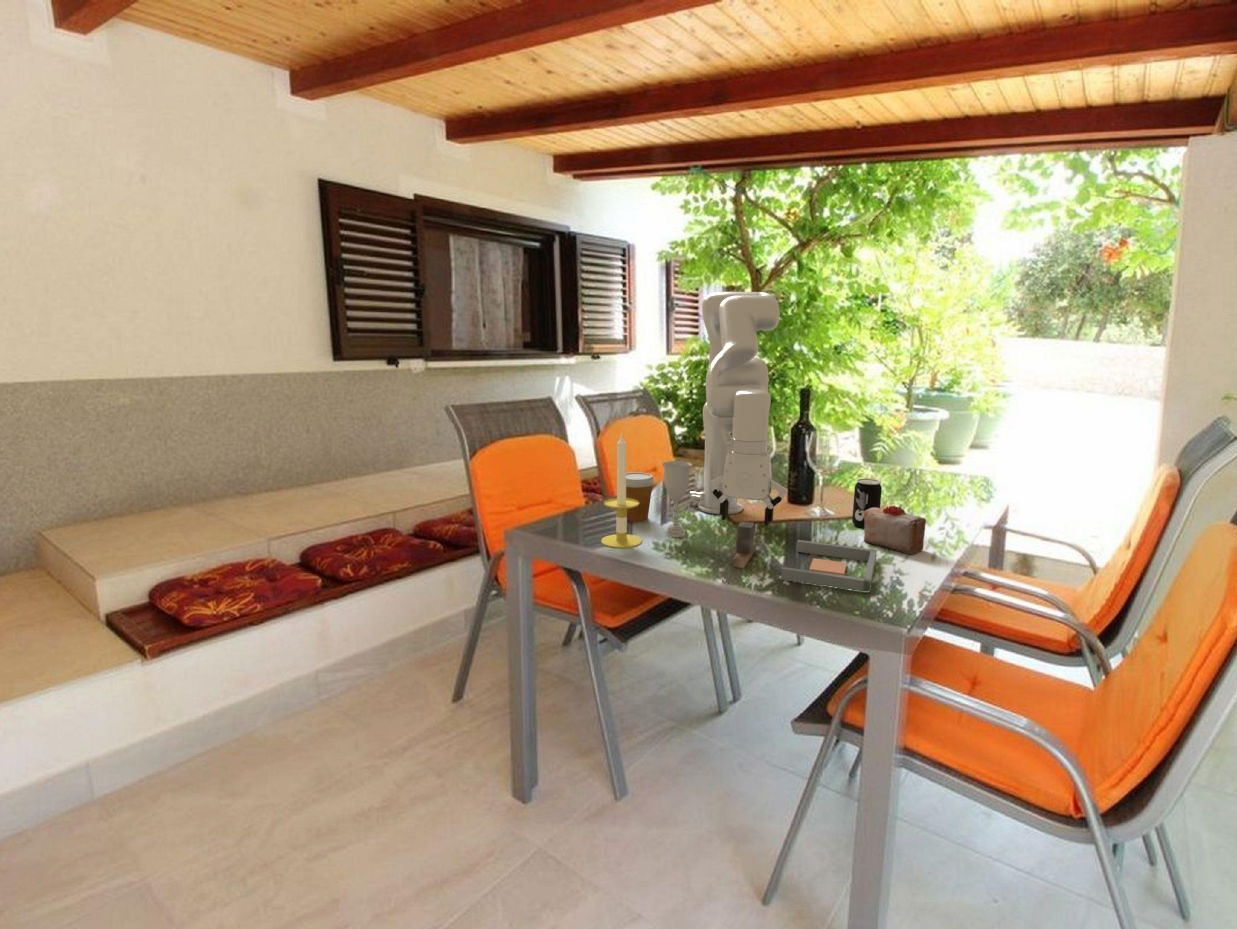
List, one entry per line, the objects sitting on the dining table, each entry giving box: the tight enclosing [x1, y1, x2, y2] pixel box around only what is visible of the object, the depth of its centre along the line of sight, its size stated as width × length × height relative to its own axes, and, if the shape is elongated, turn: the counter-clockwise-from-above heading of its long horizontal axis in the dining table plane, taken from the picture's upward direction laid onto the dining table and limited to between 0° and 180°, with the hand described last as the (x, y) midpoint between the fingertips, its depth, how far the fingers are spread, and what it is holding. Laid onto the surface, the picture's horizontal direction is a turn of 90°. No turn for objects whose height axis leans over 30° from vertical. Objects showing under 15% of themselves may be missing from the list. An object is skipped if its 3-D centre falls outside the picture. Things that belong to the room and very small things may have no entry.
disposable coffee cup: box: [626, 471, 655, 523], centre depth 180 cm, size 10×10×12 cm
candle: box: [600, 432, 643, 550], centre depth 160 cm, size 10×10×27 cm
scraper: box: [732, 521, 757, 569], centre depth 151 cm, size 3×13×8 cm, turn 158°
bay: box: [780, 539, 878, 591], centre depth 144 cm, size 17×20×2 cm
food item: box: [863, 504, 927, 555], centre depth 159 cm, size 14×8×10 cm, turn 38°
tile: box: [808, 557, 847, 576], centre depth 145 cm, size 7×7×2 cm
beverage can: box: [851, 478, 883, 529], centre depth 175 cm, size 7×7×12 cm
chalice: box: [662, 460, 692, 538], centre depth 167 cm, size 7×7×18 cm
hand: (745, 521), depth 151 cm, fingers open, 9 cm apart
